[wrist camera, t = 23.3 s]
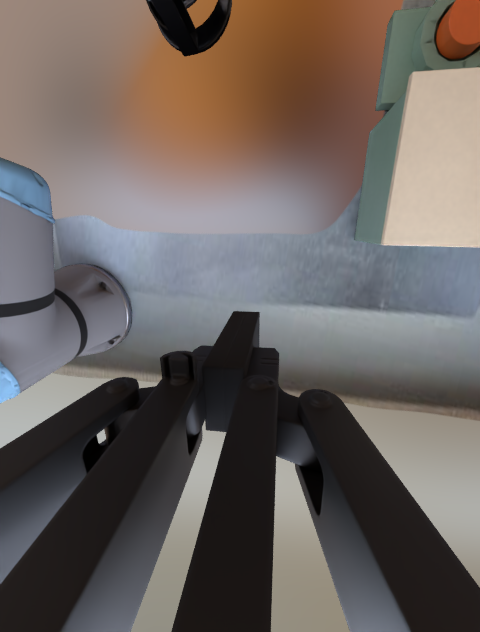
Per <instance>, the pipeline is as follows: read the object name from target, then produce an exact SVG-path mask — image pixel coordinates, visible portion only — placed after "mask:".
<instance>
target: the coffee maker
mask: <svg viewBox="0 0 480 632" xmlns="http://www.w3.org/2000/svg"><path fill="white" fill-rule="evenodd" d="M406 91H407V90H406ZM406 91H405V93H404V94H403V95H402V96H401V97H400V98H399V100H398V101H397V102H396V103H395V104H394V105H393V106H392V108H391V109H390V110H389V111H388V112H387V113H386V115H385V116H384V117H383V118H382V119H381V120H380V122H379V123H378V124H377V125H376V126H375V127H374V129H373V130H372V131H371V132H370V134H369V140H368V147H367V155H366V162H365V170H364V176H363V183H362V190H361V197H360V204H359V211H358V218H357V225H356V233H355V240H357V241H363V242H368V243H374V244H380V245H381V239H382V233H383V227H384V221H385V215H386V209H387V203H388V197H389V192H390V186H391V180H392V174H393V168H394V162H395V156H396V150H397V144H398V138H399V133H400V127H401V121H402V115H403V109H404V103H405V97H406Z"/></svg>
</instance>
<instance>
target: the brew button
mask: <svg viewBox="0 0 480 632" xmlns="http://www.w3.org/2000/svg"><path fill="white" fill-rule="evenodd" d="M436 44H437V48H438V50H439V52H440V53H441V54H442V55H443V56H444V57H446V58H449V59H460V58H463V57H465V56H467V55H469V54H470V53H472V52H473V51H474V50H475V49H476V48H477V47H478V46H479V45H480V0H456V1H455V2H454V4H453V5H452V6H451V8H450V9H449V10H448V12H447V13H446V14H445V16H444V17H443V19H442V20H441V22H440V24H439V27H438V29H437V34H436Z"/></svg>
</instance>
